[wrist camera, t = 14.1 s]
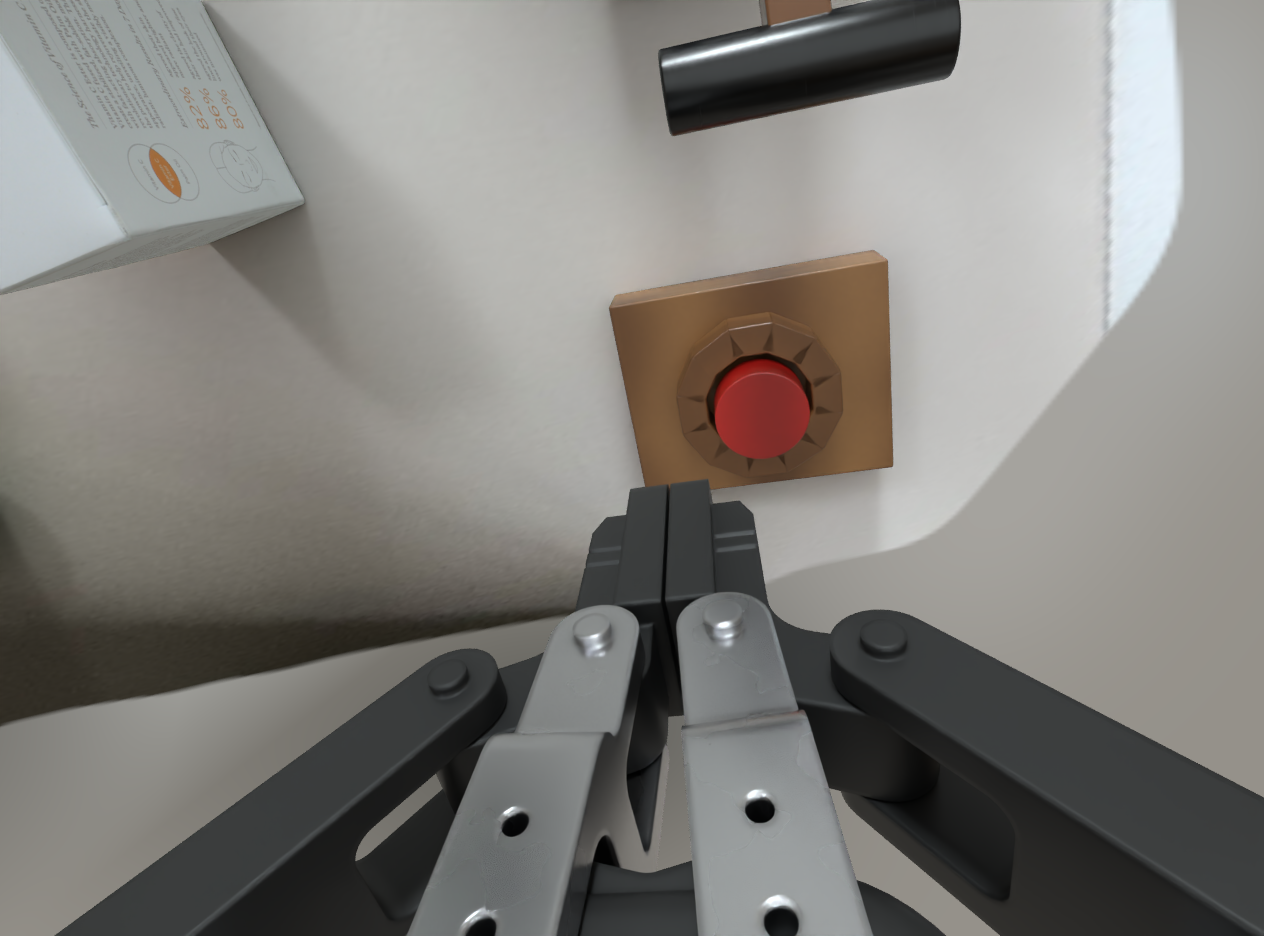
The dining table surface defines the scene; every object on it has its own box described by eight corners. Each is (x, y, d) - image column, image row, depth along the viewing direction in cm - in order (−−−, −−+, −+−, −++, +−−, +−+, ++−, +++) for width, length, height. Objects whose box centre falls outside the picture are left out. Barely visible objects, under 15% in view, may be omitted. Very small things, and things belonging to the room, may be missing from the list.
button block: (650, 475, 34) (644, 517, 30) (614, 294, 30) (602, 317, 26) (881, 445, 32) (904, 485, 28) (874, 249, 28) (899, 267, 24)
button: (720, 446, 29) (721, 465, 27) (708, 365, 27) (708, 380, 26) (807, 435, 28) (813, 453, 27) (799, 351, 27) (806, 365, 25)
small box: (91, 51, 27) (-227, 9, 18) (203, -7, 26) (-75, -84, 17) (206, 248, 30) (-13, 301, 21) (311, 205, 29) (128, 241, 20)
